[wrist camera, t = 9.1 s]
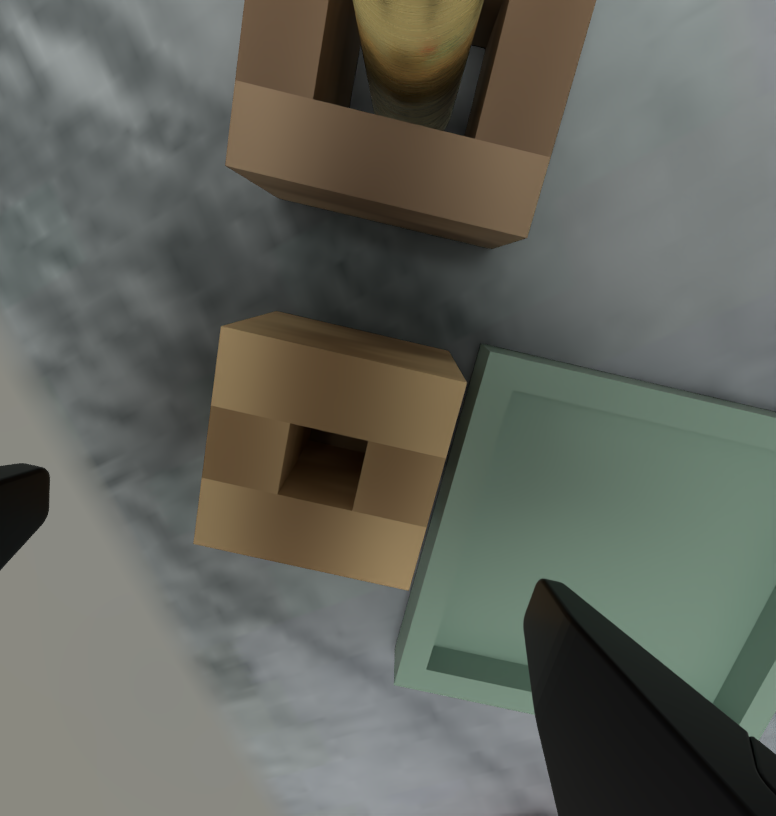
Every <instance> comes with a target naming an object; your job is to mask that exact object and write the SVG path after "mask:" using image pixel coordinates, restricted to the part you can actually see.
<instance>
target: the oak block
mask: <svg viewBox="0 0 776 816" xmlns="http://www.w3.org/2000/svg"><path fill="white" fill-rule="evenodd" d="M466 385H467V382H466V380H465V378H464V377H463V375H462V373H461V371H460V370H459V368H458V366H457V365H456V363H455V361H454V359H453V358H452V356H451V354H450V352H449V351H447V350H443V349H438V348H434V347H430V346H425V345H421V344H417V343H412V342H408V341H404V340H399V339H395V338H391V337H387V336H382V335H378V334H374V333H369V332H365V331H361V330H356V329H352V328H348V327H343V326H339V325H335V324H330V323H326V322H322V321H318V320H313V319H309V318H305V317H300V316H296V315H292V314H287V313H283V312H279V311H275V312H271V313H267V314H264V315H260V316H256V317H253V318H249V319H245V320H242V321H238V322H234V323H231V324H227V325H223V326H221V330H220V338H219V346H218V354H217V362H216V370H215V378H214V386H213V394H212V401H211V409H210V417H209V425H208V433H207V441H206V449H205V457H204V465H203V472H202V480H201V488H200V496H199V504H198V512H197V520H196V528H195V536H194V543H193V544H196V545H201V546H206V547H210V548H215V549H219V550H224V551H229V552H233V553H238V554H242V555H247V556H252V557H256V558H261V559H265V560H270V561H275V562H279V563H284V564H288V565H293V566H298V567H302V568H307V569H311V570H316V571H321V572H325V573H330V574H334V575H339V576H344V577H348V578H353V579H357V580H362V581H367V582H371V583H376V584H380V585H385V586H390V587H394V588H399V589H403V590H408V591H409V588H410V585H411V581H412V578H413V574H414V571H415V567H416V563H417V560H418V556H419V553H420V549H421V546H422V542H423V538H424V535H425V531H426V528H427V524H428V521H429V517H430V513H431V510H432V506H433V503H434V499H435V496H436V492H437V488H438V485H439V481H440V478H441V474H442V471H443V467H444V463H445V460H446V456H447V453H448V449H449V446H450V442H451V438H452V435H453V431H454V428H455V424H456V421H457V417H458V413H459V410H460V406H461V403H462V399H463V396H464V392H465V388H466Z"/></svg>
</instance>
